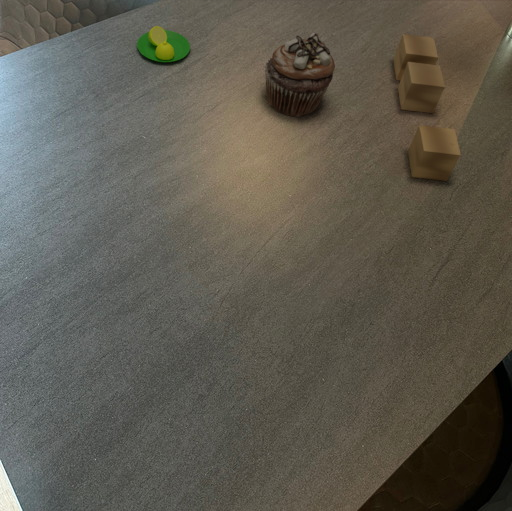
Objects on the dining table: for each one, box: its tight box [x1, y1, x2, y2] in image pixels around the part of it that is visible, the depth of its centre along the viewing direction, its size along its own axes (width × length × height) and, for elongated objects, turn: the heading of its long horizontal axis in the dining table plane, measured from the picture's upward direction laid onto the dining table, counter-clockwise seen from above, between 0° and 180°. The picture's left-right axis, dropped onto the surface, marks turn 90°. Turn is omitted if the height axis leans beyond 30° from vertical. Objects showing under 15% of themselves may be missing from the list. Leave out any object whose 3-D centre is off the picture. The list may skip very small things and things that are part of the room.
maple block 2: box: [397, 62, 446, 114], centre depth 94 cm, size 5×5×5 cm
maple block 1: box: [392, 33, 439, 82], centre depth 98 cm, size 5×5×5 cm
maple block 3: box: [407, 124, 461, 182], centre depth 86 cm, size 5×5×5 cm
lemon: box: [136, 25, 191, 63], centre depth 95 cm, size 8×8×3 cm
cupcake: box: [264, 32, 336, 117], centre depth 89 cm, size 10×10×10 cm
